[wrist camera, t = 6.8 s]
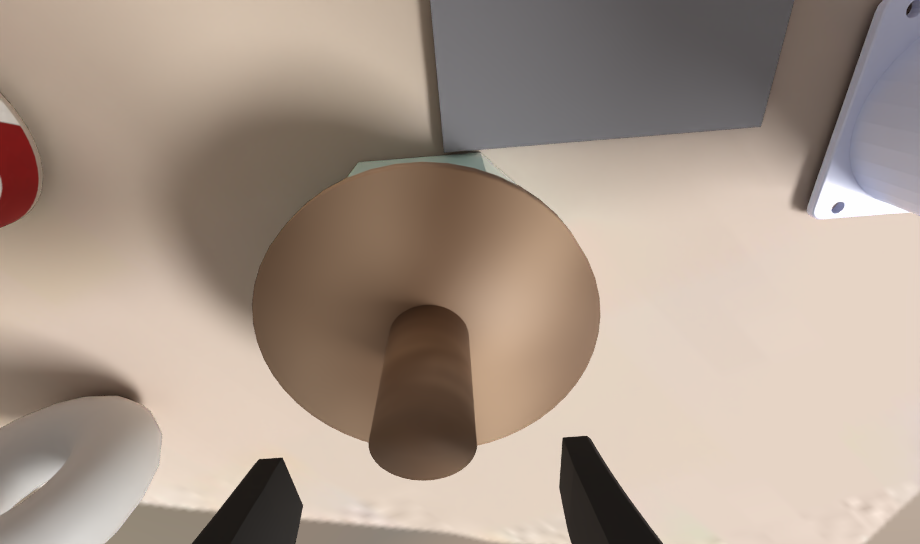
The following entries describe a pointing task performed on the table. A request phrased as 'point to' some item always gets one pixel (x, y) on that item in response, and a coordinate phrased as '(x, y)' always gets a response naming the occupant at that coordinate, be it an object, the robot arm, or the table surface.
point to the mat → (601, 68)
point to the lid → (426, 312)
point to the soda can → (17, 166)
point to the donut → (76, 470)
